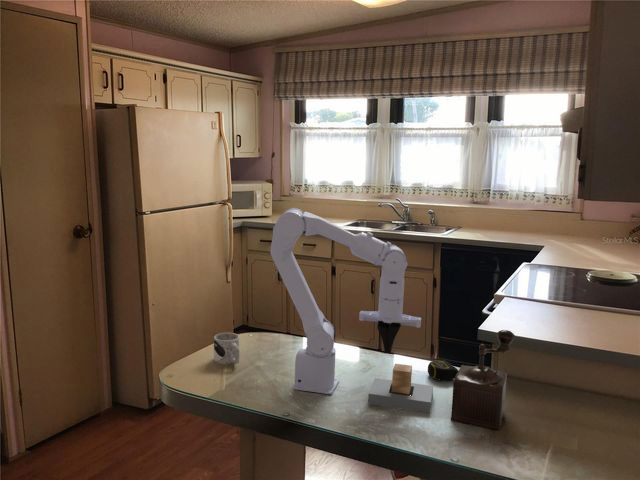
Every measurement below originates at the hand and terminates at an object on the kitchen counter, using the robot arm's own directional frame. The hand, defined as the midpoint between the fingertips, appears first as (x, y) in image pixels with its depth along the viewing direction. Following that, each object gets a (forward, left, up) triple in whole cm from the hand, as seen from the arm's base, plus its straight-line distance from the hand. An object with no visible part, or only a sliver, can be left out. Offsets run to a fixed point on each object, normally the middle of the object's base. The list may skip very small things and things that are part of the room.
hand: (387, 352), depth 132 cm
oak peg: (+4, -5, -10) cm, 11 cm away
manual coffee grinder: (+22, -4, -10) cm, 25 cm away
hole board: (+4, -4, -10) cm, 11 cm away
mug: (-43, +4, -10) cm, 44 cm away
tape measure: (+13, +13, -10) cm, 21 cm away
